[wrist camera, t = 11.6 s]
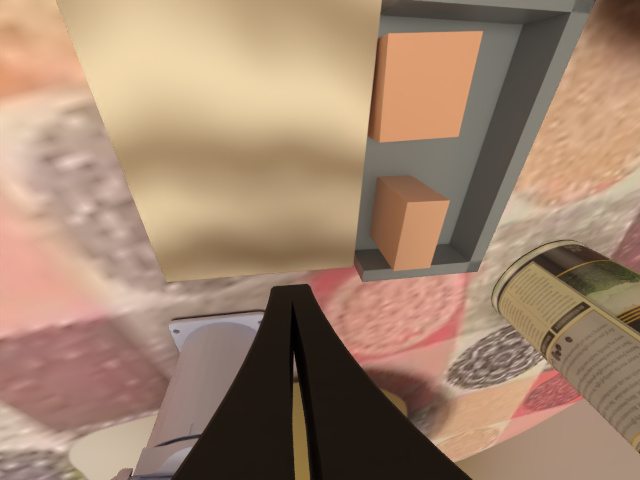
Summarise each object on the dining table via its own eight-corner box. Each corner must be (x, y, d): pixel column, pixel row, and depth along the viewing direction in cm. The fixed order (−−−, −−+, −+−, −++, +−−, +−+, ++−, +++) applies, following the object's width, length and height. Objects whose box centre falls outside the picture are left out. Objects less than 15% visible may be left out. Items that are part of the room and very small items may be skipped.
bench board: (346, 252, 20) (353, 266, 19) (176, 264, 18) (166, 281, 17) (368, 4, 13) (382, -9, 11) (78, -17, 11) (41, -36, 9)
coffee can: (576, 218, 22) (920, 366, 10) (594, 276, 27) (844, 422, 15) (475, 286, 25) (656, 466, 13) (508, 328, 30) (663, 486, 18)
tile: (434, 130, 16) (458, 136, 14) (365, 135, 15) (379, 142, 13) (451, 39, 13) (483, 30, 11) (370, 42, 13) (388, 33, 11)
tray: (452, 249, 22) (477, 271, 19) (350, 256, 21) (362, 281, 18) (537, 4, 14) (602, -17, 11) (377, -9, 12) (405, -36, 10)
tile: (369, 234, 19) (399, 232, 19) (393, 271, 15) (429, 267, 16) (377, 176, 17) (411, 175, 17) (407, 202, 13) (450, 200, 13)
